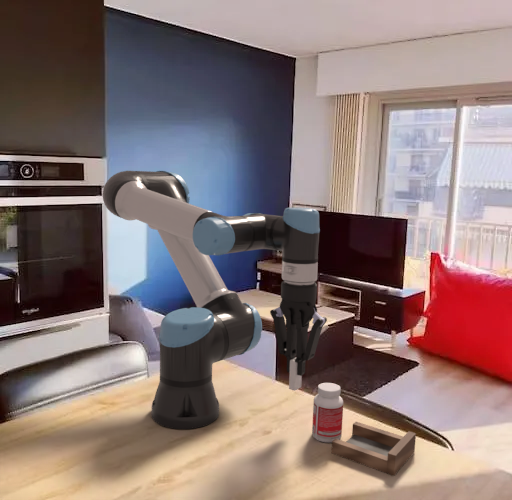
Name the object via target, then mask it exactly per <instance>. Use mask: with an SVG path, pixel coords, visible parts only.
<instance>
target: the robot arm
mask: <svg viewBox="0 0 512 500" xmlns="http://www.w3.org/2000/svg"><path fill="white" fill-rule="evenodd" d="M189 194H190V190H189V187H188V185H187V183H186V180H185V179H183V177H182V176H181V175H179V174H178V173H175V172H172V171H167V170H157V171H150V170H149V171H147V170H146V171H145V170H124V171H123V170H122V171H119V172H117V173H115V174H113V175H112V176H110V177H109V179H108V180H107V181H106V182H105V184H104V185H103V189H102V201H103V203H104V206H105V208H106V209H107V210H108V211H109V212H110V213H111V214H113V215H114V216H115V217H118V218H120V219H123V220H125V221H135V220H137V221H140V222H142V223H144V224H146V225H147V226H148V227H149V228H150V229H152V230H156V231H157V232H158V234H159V236H160V238H161V240H162V242H163V243H164V246H165V248H166V250H167V252H168V254H169V256H170V258H171V259H172V261H173V263H174V265H175V268H176V269H177V271H178V273H179V275H180V276H181V279H182V280H183V282H184V284H185V286H186V288H187V290H188V292H189V293H190V294H189V295H190V296H191V298H192V300H193V303H195V306H196V307H194V306H192V307H183V308H179V309H175V310H173V311H171V312H169V313H167V314H166V315H165V316H164V317H163V318H162V319H161V322H160V330H159V336H158V340H159V383H158V385H157V388H156V391H155V395H154V398H153V401H152V404H151V418H152V420H153V421H154V422H155V423H156V424H157V425H159V426H162V427H165V428H170V429H175V430H191V429H198V428H199V429H200V428H201V427H202V428H203V427H205V426H207V425H210V424H212V423H214V422H215V421H216V420H217V419H218V417H219V415H220V402H219V399H218V398H217V395H216V392H215V391H216V390H215V388H214V387H215V385H214V384H213V365H214V363H218V362H220V361H223V360H227V359H229V358H233V357H236V356H242V355H244V354H245V353H246V352H249V351H252V350H253V349H254V348H255V347H257V345H258V343H259V342H260V340H261V338H262V332H263V323H262V317H261V315H260V313H259V311H258V310H257V308H256V307H255V306H254V305H253V304H249V303H246V302H242V301H241V299H240V297H239V295H238V293H237V292H236V291H233V290H229V289H228V287H227V286H226V283H225V282H224V280H223V279H222V277H221V275H220V274H219V273H220V272H219V271H218V269H217V267H216V266H215V264H214V262H213V260H212V258H211V257H210V256H223V255H228V254H234V253H241V252H248V251H256V250H272V251H273V250H275V251H278V252H279V251H280V252H281V259H282V260H281V279H282V280H283V281H281V283H280V298H281V301H280V303H279V306H278V307H276V308H274V309H271V310H269V314H270V315H271V318H272V320H273V323H274V330H275V337H276V341H277V348H278V349H277V350H278V353H279V354H280V355H284V357H285V359H286V372H287V373H288V374H289V378H288V383H289V384H288V389H289V390H291V391H295V392H296V391H298V389H300V388H302V379H303V378H302V377H303V376H304V374H305V373H306V362H307V361H309V360H311V359H313V358H314V357H315V355H316V350H317V347H318V344H319V340H320V336H321V333H322V329H323V327H324V326H325V324H326V322H328V318H327V317H326V316H322V315H320V314H319V313H318V308H317V306H316V301H317V294H318V293H317V290H318V288H317V287H318V284H317V280H318V266H319V265H318V264H319V263H318V261H319V255H318V254H319V243H320V232H321V229H320V228H321V227H320V213H319V211H318V210H317V209H315V208H311V207H286V208H284V211H283V215H274V214H266V213H264V214H263V213H261V212H260V213H259V212H256V213H255V212H254V213H253V212H252V213H251V212H249V213H246V214H243V215H235V216H234V215H233V216H232V215H230V216H227V215H222V214H220V213H216V212H214V211H212V210H209V209H205V208H203V207H200V206H197V205H194V204H191V203H190V196H189ZM310 322H312V326H311V328H310V332H309V327H310ZM308 333H309V334H308Z"/></svg>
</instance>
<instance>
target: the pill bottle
mask: <svg viewBox="0 0 512 500" xmlns="http://www.w3.org/2000/svg"><path fill="white" fill-rule="evenodd" d="M341 391H342V389H341V386H340V385H338V384H336V383H332V382H323V383H322V382H321V383H320V384H318V386H317V394H316V395H315V396H314V398H313V404H312V405H313V407H312V408H313V409H312V410H313V411H312V427H311V428H312V429H311V434H312V437H313V438H314V439H316V440H317V441H319V442H320V443H321V442H322V443H330V444H332V441H333V440H334V439H335V438H336V439H339V440H341V438H342V435H343V434H342V431H343V419H344V418H343V416H344V400H343V397H341V396H340V395H341V393H342V392H341Z"/></svg>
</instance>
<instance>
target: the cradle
mask: <svg viewBox="0 0 512 500" xmlns="http://www.w3.org/2000/svg"><path fill="white" fill-rule="evenodd" d="M351 432H352V433H351V434H352V436H350V438H348V439H347V440H346V441H344V440H341V439H340V440H339V439H336V438H335V439H334V440H333V441H332V442H331V454H333V455H335V456H338V457H341V458H344V459H346V460H348V461H352V462H355V463H358V464H361V465H362V466H366V467H368V468H371V469H374V470H375V471H379V472H382V473H384V474H385V473H386V474H387V475H390V476H392V477H393V476H395V475H396V474H397V473H398V472H399V471H400V470H401V468H402V467H403V466H404V465H405V464H406V463H407V461H408V460H409V459H410V458H411V457H412V456H413V454H414V453H415V449H416V448H415V447H416V440H417V439H416V437H417V433H415V432H413V431H410V430H408V431H407V432H406V434H404V436H403V435H400V434H397V433H394V432H390V431H388V430H384V429H380V428H377V427H374V426H371V425H368V424H365V423H362V422H358V421H354V422H353V423H352V429H351Z"/></svg>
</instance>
